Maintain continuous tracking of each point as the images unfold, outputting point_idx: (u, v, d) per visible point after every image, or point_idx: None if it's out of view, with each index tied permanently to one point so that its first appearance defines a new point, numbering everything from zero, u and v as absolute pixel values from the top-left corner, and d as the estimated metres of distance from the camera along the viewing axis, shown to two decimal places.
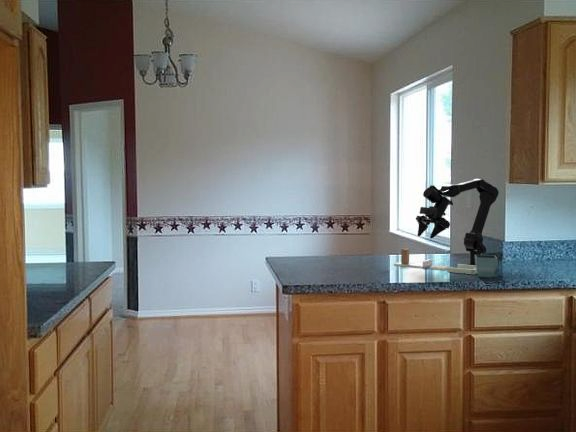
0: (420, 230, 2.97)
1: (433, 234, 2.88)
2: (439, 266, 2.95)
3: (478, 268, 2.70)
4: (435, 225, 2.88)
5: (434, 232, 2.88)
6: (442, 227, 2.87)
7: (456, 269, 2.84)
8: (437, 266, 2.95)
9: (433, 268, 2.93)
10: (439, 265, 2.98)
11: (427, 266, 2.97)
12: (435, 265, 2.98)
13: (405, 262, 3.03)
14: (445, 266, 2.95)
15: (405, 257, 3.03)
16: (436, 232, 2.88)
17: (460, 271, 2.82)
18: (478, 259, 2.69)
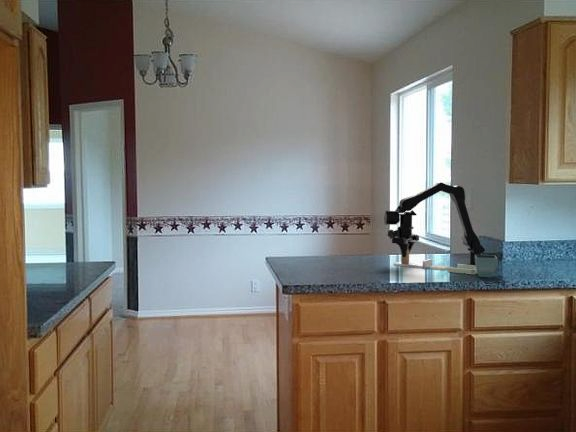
0: None
1: (402, 253, 3.03)
2: (439, 266, 2.95)
3: (478, 268, 2.70)
4: None
5: (402, 251, 3.03)
6: (402, 244, 3.00)
7: (456, 269, 2.84)
8: (437, 266, 2.95)
9: (433, 268, 2.93)
10: (439, 265, 2.98)
11: (427, 266, 2.97)
12: (435, 265, 2.98)
13: (405, 262, 3.03)
14: (445, 266, 2.95)
15: (405, 257, 3.03)
16: (403, 250, 3.02)
17: (460, 271, 2.82)
18: (478, 259, 2.69)
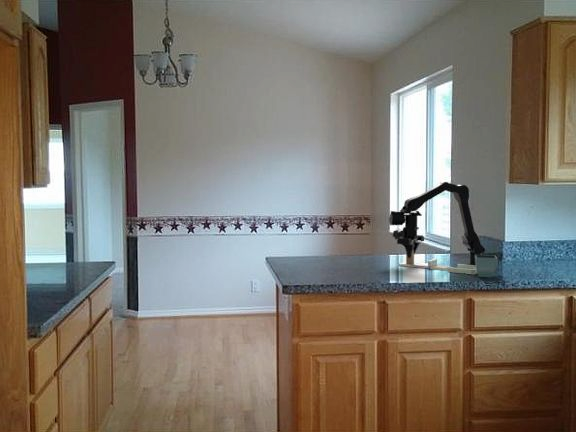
0: None
1: (408, 253, 3.01)
2: (440, 266, 2.95)
3: (478, 268, 2.70)
4: None
5: (407, 252, 3.01)
6: (408, 245, 2.99)
7: (456, 269, 2.84)
8: (438, 266, 2.95)
9: (434, 268, 2.93)
10: (440, 265, 2.98)
11: None
12: (436, 265, 2.98)
13: (410, 262, 3.02)
14: (446, 266, 2.95)
15: (410, 257, 3.02)
16: (409, 251, 3.01)
17: (460, 271, 2.82)
18: (478, 259, 2.69)
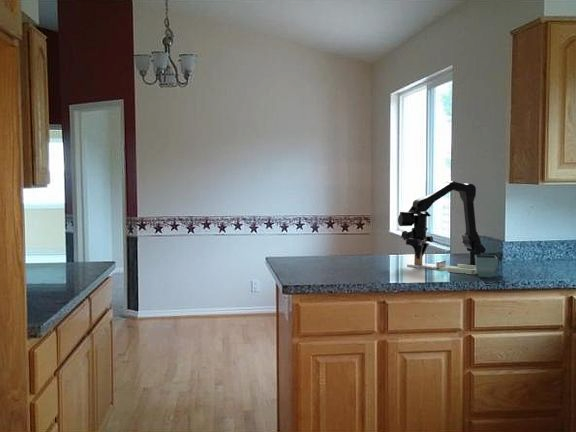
0: None
1: (417, 254, 2.99)
2: None
3: (478, 268, 2.70)
4: None
5: (416, 252, 2.99)
6: (417, 246, 2.96)
7: (456, 269, 2.84)
8: (447, 267, 2.92)
9: (443, 269, 2.90)
10: (449, 266, 2.95)
11: None
12: (445, 265, 2.95)
13: (418, 263, 3.00)
14: (455, 267, 2.92)
15: None
16: (418, 251, 2.98)
17: (460, 271, 2.82)
18: (478, 259, 2.69)
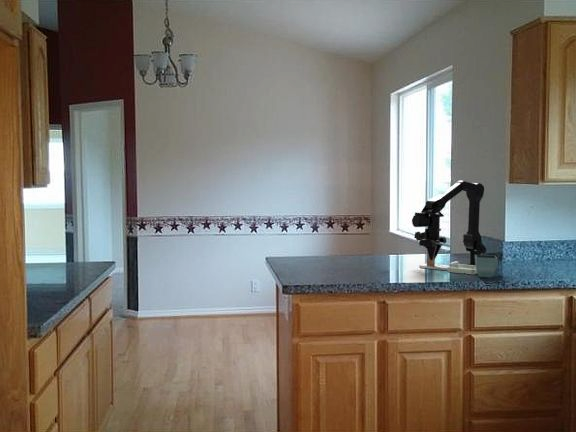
0: None
1: (430, 255, 2.95)
2: (462, 268, 2.89)
3: (478, 268, 2.70)
4: None
5: (429, 253, 2.95)
6: (430, 247, 2.92)
7: (456, 269, 2.84)
8: None
9: None
10: None
11: None
12: (458, 267, 2.92)
13: (431, 264, 2.96)
14: (468, 268, 2.89)
15: None
16: (431, 252, 2.94)
17: (460, 271, 2.82)
18: (478, 259, 2.69)
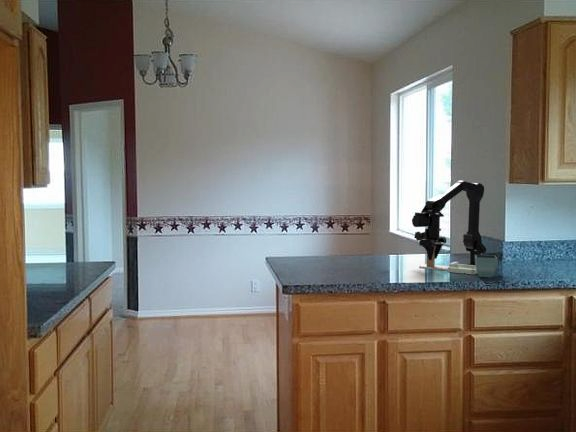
0: None
1: (429, 256, 2.94)
2: (462, 268, 2.89)
3: (478, 268, 2.70)
4: None
5: (428, 254, 2.94)
6: (429, 247, 2.91)
7: (456, 269, 2.84)
8: None
9: None
10: None
11: None
12: (458, 267, 2.92)
13: (431, 265, 2.96)
14: (468, 268, 2.89)
15: None
16: (430, 253, 2.93)
17: (460, 271, 2.82)
18: (478, 259, 2.69)
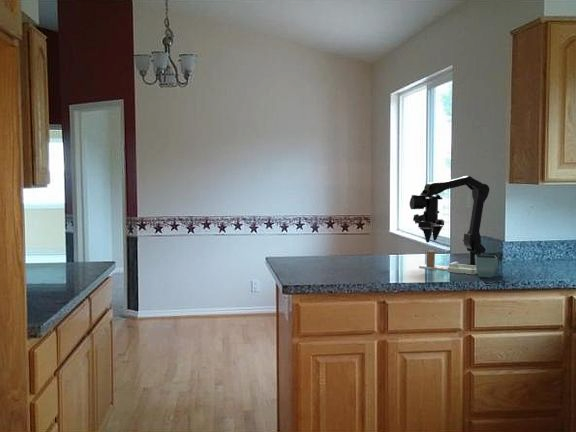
0: (434, 234, 3.06)
1: (426, 238, 2.97)
2: (462, 268, 2.89)
3: (478, 268, 2.70)
4: None
5: (426, 236, 2.97)
6: (427, 229, 2.95)
7: (456, 269, 2.84)
8: None
9: None
10: None
11: None
12: (458, 267, 2.92)
13: (431, 265, 2.96)
14: (468, 268, 2.89)
15: (431, 259, 2.96)
16: (427, 235, 2.96)
17: (460, 271, 2.82)
18: (478, 259, 2.69)
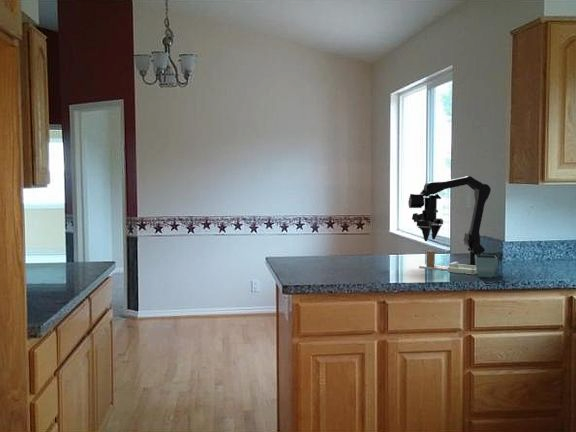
0: (432, 233, 3.09)
1: (425, 237, 3.01)
2: (462, 268, 2.89)
3: (478, 268, 2.70)
4: None
5: (424, 235, 3.01)
6: (425, 228, 2.98)
7: (456, 269, 2.84)
8: None
9: None
10: None
11: None
12: (458, 267, 2.92)
13: (431, 265, 2.96)
14: (468, 268, 2.89)
15: (431, 259, 2.96)
16: (426, 234, 3.00)
17: (460, 271, 2.82)
18: (478, 259, 2.69)
